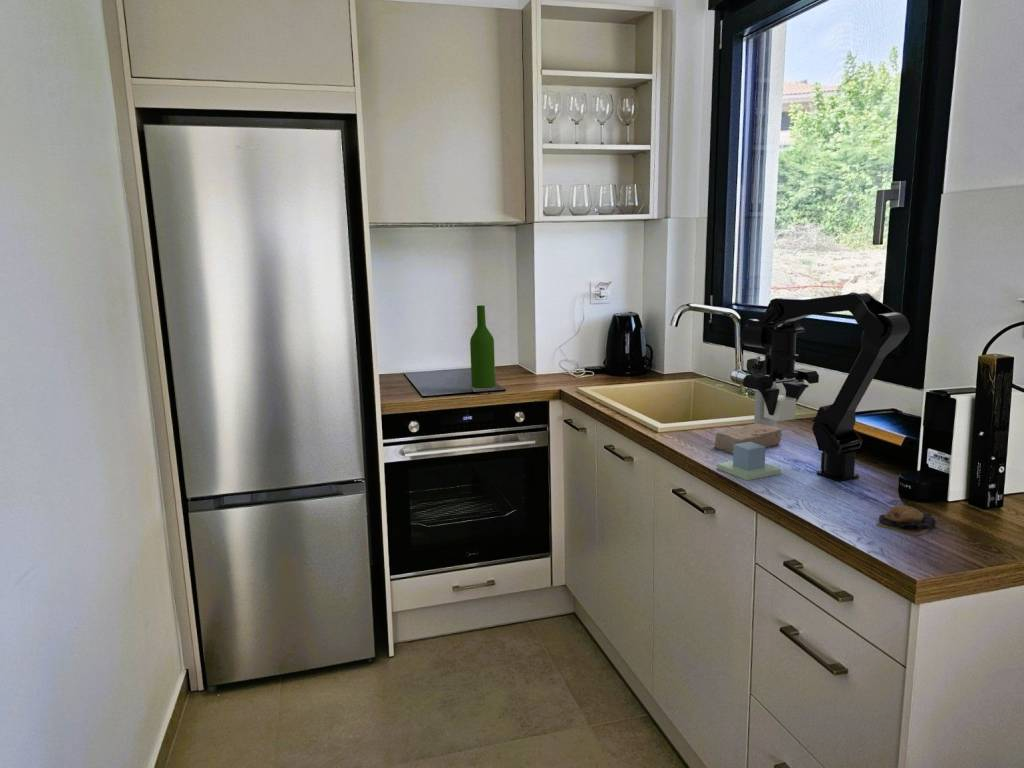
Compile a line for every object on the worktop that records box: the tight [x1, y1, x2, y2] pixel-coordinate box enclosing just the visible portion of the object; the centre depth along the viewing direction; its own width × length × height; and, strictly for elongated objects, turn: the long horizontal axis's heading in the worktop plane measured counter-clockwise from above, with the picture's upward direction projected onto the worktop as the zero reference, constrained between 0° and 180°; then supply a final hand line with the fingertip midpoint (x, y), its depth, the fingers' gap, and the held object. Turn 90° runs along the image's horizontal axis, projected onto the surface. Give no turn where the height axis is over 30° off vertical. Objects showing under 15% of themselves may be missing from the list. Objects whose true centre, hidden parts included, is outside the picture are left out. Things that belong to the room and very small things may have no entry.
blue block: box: [732, 442, 767, 471], centre depth 164 cm, size 5×5×5 cm
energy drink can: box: [753, 383, 779, 427], centre depth 199 cm, size 6×6×15 cm
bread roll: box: [875, 505, 936, 537], centre depth 132 cm, size 11×8×4 cm
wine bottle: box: [469, 304, 496, 388], centre depth 262 cm, size 9×9×32 cm
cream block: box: [764, 394, 797, 422], centre depth 171 cm, size 5×5×5 cm
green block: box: [716, 460, 782, 481], centre depth 165 cm, size 10×10×1 cm
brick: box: [714, 423, 782, 454], centre depth 185 cm, size 17×8×5 cm, turn 119°
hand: (779, 413), depth 171 cm, fingers closed on cream block, 5 cm apart
